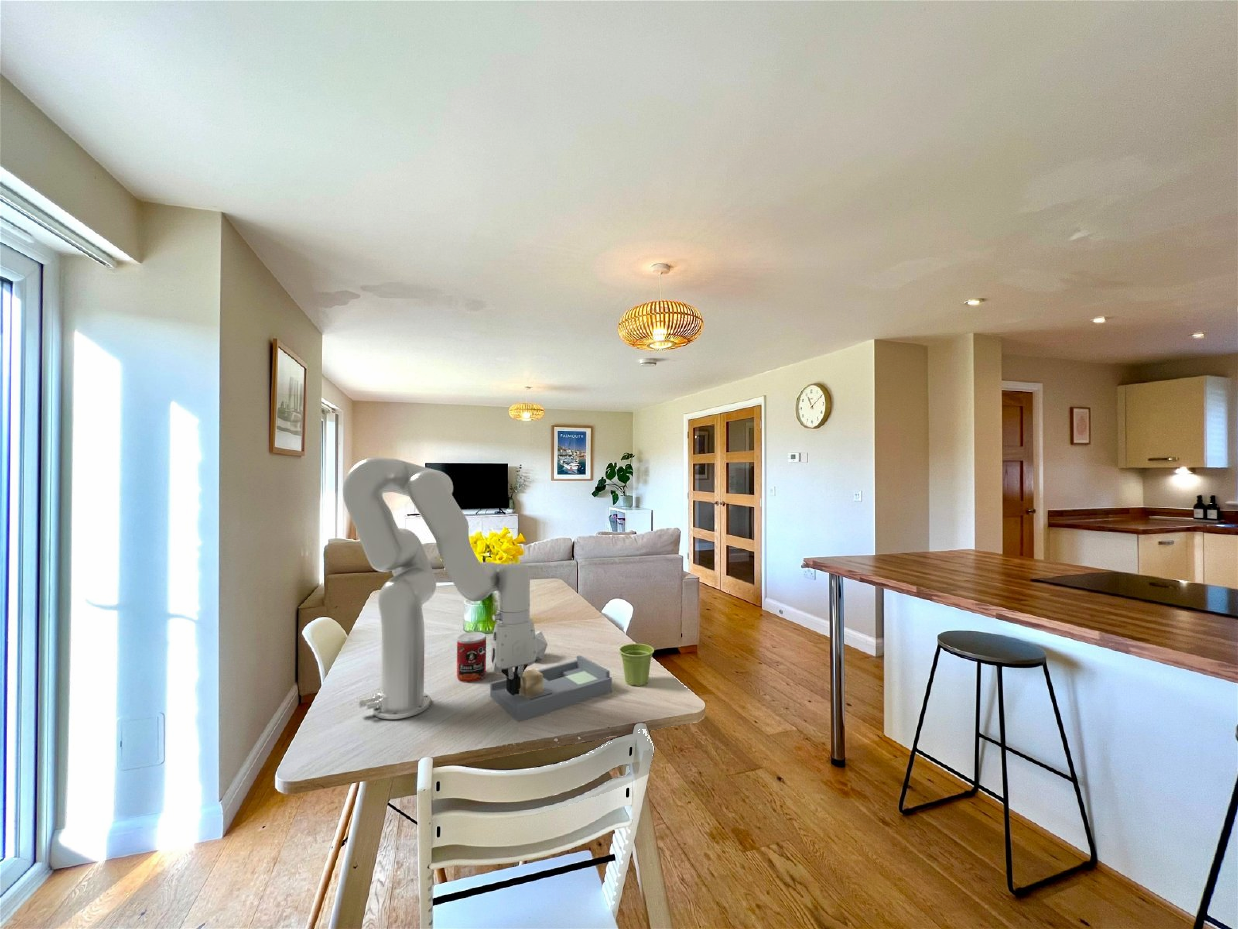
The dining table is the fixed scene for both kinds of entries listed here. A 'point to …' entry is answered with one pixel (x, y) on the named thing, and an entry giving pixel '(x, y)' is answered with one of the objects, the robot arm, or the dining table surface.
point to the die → (540, 645)
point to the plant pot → (636, 663)
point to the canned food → (471, 656)
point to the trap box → (556, 689)
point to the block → (531, 683)
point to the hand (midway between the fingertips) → (513, 692)
